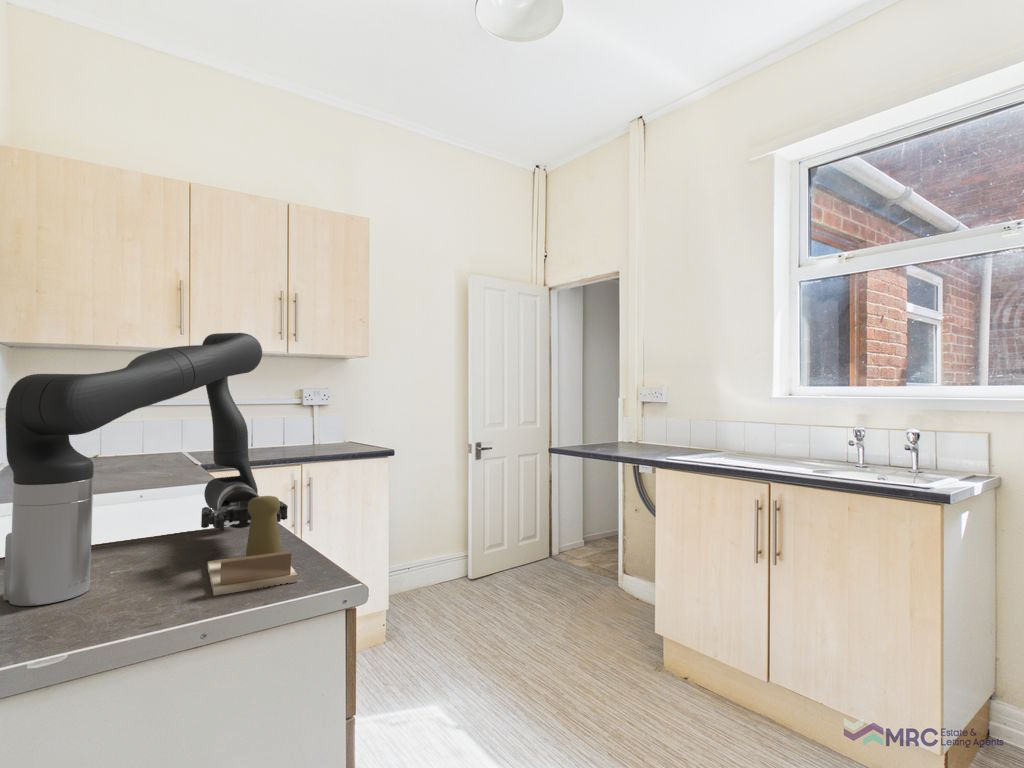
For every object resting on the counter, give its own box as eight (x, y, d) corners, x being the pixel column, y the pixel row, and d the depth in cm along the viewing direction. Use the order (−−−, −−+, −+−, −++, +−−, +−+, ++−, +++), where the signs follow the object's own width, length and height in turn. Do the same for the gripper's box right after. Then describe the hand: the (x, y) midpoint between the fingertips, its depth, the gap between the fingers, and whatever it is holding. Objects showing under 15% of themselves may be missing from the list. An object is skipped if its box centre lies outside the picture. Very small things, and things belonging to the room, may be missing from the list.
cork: (247, 561, 95) (247, 497, 97) (284, 557, 97) (283, 495, 99) (241, 564, 90) (242, 497, 92) (281, 560, 92) (281, 494, 94)
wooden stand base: (207, 568, 94) (208, 541, 95) (281, 558, 101) (281, 532, 101) (213, 595, 82) (214, 564, 82) (297, 582, 88) (297, 553, 88)
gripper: (199, 489, 105) (203, 504, 91) (278, 483, 112) (293, 496, 99) (197, 528, 104) (202, 548, 91) (277, 519, 112) (292, 538, 98)
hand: (249, 521), depth 95 cm, fingers open, 8 cm apart
